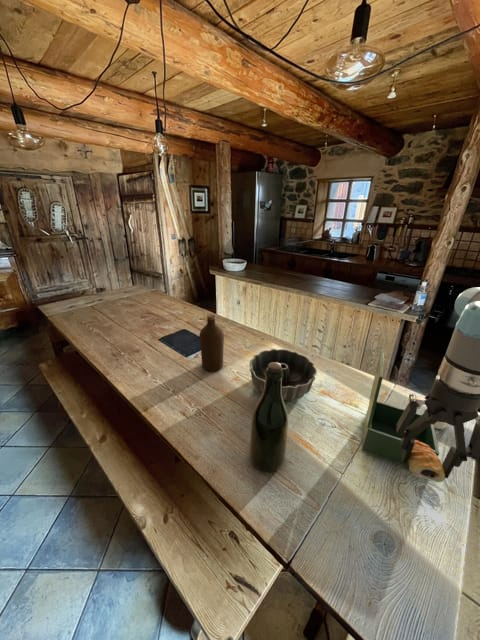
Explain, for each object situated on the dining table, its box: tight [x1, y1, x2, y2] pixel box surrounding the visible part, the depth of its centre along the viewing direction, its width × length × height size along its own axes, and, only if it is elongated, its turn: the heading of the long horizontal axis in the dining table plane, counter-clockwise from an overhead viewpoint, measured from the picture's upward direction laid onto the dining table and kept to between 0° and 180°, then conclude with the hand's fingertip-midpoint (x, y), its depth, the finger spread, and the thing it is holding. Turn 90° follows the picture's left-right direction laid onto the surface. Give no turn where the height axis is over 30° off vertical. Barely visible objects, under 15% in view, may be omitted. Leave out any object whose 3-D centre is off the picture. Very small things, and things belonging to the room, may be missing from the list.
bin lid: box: [367, 350, 385, 429], centre depth 80 cm, size 18×15×1 cm
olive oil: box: [198, 314, 225, 372], centre depth 116 cm, size 11×11×25 cm
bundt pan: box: [249, 348, 318, 402], centre depth 107 cm, size 26×26×10 cm
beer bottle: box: [249, 362, 289, 473], centre depth 72 cm, size 10×10×33 cm
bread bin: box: [361, 400, 440, 469], centre depth 82 cm, size 18×15×9 cm
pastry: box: [409, 440, 446, 483], centre depth 59 cm, size 9×7×4 cm
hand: (423, 465), depth 59 cm, fingers closed on pastry, 7 cm apart
